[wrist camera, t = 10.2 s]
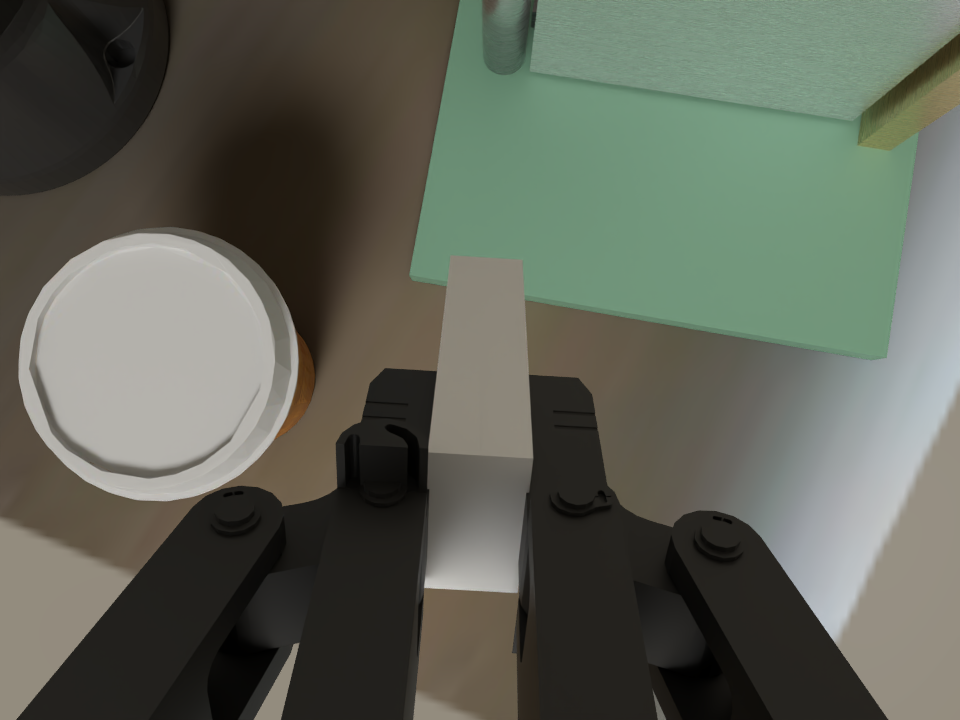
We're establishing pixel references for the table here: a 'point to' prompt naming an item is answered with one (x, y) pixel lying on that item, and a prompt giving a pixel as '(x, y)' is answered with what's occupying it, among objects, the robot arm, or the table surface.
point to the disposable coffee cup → (162, 364)
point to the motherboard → (666, 204)
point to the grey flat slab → (746, 47)
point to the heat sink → (884, 124)
